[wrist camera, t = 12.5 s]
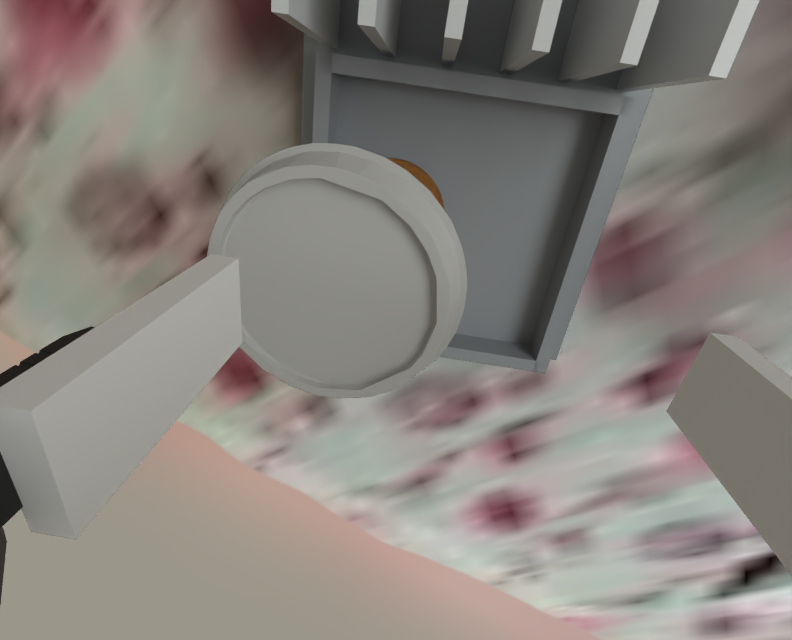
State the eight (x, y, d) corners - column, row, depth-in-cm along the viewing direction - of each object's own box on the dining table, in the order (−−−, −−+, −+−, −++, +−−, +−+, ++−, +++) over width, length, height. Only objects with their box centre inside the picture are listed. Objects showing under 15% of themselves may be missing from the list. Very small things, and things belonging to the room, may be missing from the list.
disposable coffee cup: (326, 287, 28) (230, 400, 17) (303, 130, 23) (157, 153, 13) (471, 290, 26) (463, 418, 15) (475, 120, 21) (470, 138, 11)
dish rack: (550, 348, 30) (596, 442, 21) (302, 309, 30) (248, 385, 21) (687, -46, 20) (878, -169, 11) (316, -98, 20) (228, -256, 12)
